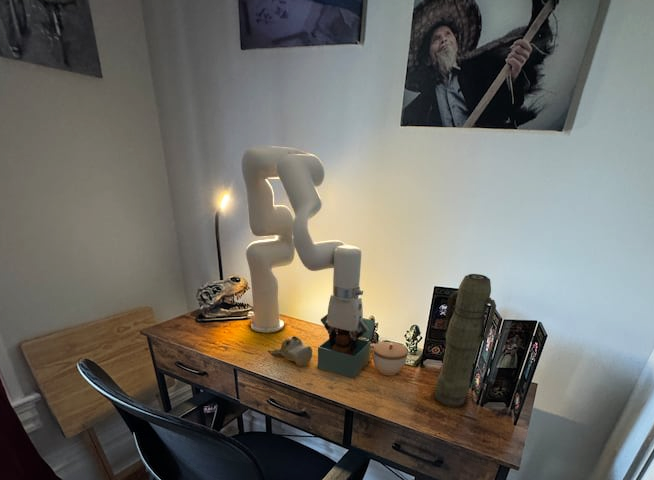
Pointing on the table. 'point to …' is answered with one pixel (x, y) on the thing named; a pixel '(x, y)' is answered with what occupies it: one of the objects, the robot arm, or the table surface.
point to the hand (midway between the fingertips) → (343, 346)
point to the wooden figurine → (343, 342)
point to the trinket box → (389, 357)
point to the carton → (344, 358)
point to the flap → (370, 325)
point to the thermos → (463, 337)
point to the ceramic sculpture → (294, 351)
